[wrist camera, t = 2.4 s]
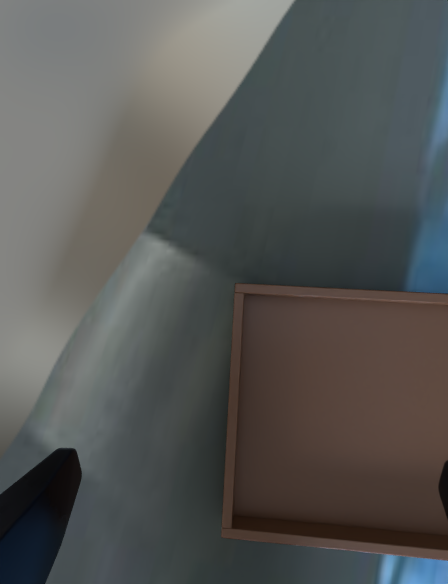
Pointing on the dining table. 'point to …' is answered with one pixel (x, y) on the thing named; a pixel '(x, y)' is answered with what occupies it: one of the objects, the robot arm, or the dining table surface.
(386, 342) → the tray
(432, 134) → the dining table surface
